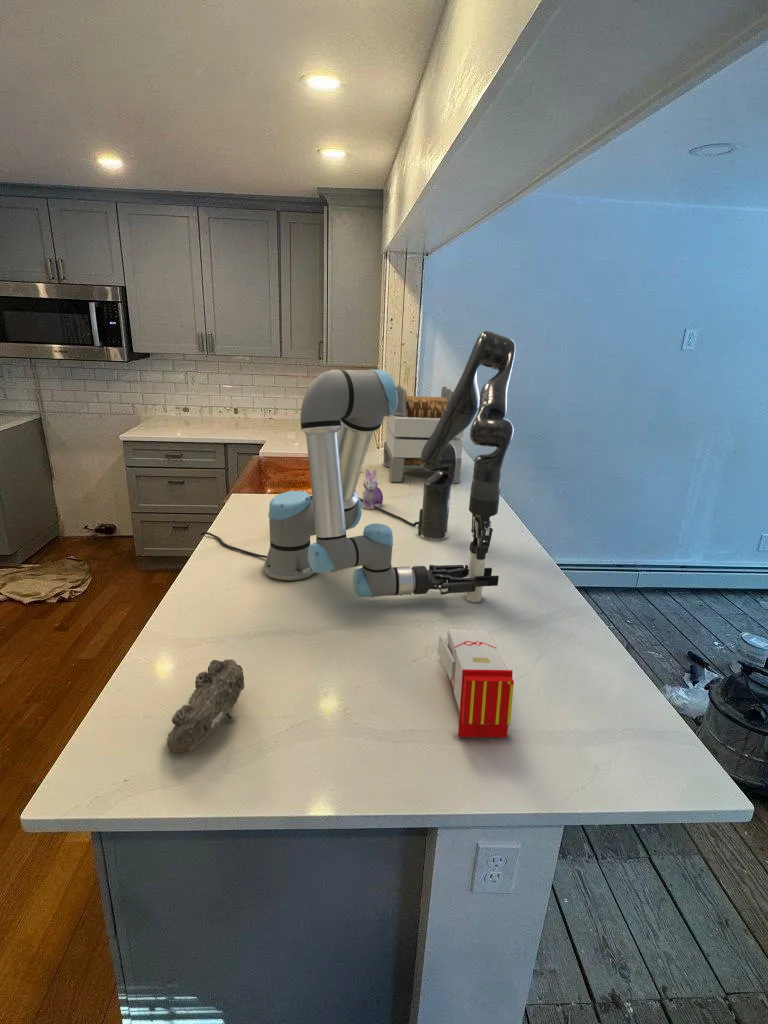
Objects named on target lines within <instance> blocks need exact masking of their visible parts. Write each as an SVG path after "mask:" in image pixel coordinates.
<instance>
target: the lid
mask: <svg viewBox="0 0 768 1024" xmlns="http://www.w3.org/2000/svg"><path fill="white" fill-rule="evenodd" d="M477 544H478V541H473V540H472V541H471V542H470V544H469V548H468V549H469V552H470V553H471V552H472V553H474V554H477ZM488 553H489V548H487V547H486V555H487V554H488Z"/></svg>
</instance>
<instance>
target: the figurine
mask: <svg viewBox="0 0 768 1024" xmlns="http://www.w3.org/2000/svg"><path fill="white" fill-rule="evenodd" d="M377 472H378V470H377V468H374V469H373V470H372V472H371V473H370V470H369V469H365V480H364V482H363V488H364V491H363V493H362V499H363V502H362V503H361V505H362V508H363V509H366V510H373V509H376V508H375V506H377V507H379V508H382V506H383V501H384V496H383V495H384V494H383V492H382V490H381V489H380V488H379V487H378V485H379V484H378V481H377V479H376V476H377V474H378V473H377Z"/></svg>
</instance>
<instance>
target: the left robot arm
mask: <svg viewBox="0 0 768 1024" xmlns="http://www.w3.org/2000/svg"><path fill="white" fill-rule="evenodd" d="M396 388H397V386H396V382H395V380H394V378H393V377H392V375H391V374H390V373H389V372H388V371H386V370H384V369H374V368H370V369H341V370H340V369H330V370H327V371H324V372H322V373H321V374H319V375H318V376H317V377H315V379H313V381H312V382H311V384H310V385H309V386H308V388H307V390H306V392H305V395H304V397H303V400H302V403H301V406H300V407H301V408H300V416H299V417H300V420H299V421H300V430H301V431H302V433H304V434H305V437H306V448H307V457H308V458H307V459H308V467H309V468H308V469H309V477H310V488H311V495H310V494H309V492H307V491H304V490H289V491H284V492H281V493H278V494H277V495H275V496H273V498H271V500H270V502H269V509H268V519H269V521H268V522H269V548H268V552H267V554H259V553H255V552H252V551H248V550H245V549H242V548H240V547H236V546H232V545H229V544H227V543H225V542H224V541H223V539H222V538H220V537H219V536H217V535H215V534H213V533H211V532H208V531H204V532H201V533H200V534H199V535H200V536H204V535H209V536H211V537H213V538H215V539H217V541H219V543H220V544H222V546H224V547H226V548H229V549H231V550H234V551H238V552H241V553H244V554H247V555H250V556H253V557H257V558H264V559H265V561H264V565H263V566H264V569H263V570H264V574H265V575H266V576H267V577H269V578H270V579H273V580H276V581H282V582H295V581H300V580H305V579H309V578H310V577H311V576H312V577H313V575H315V573H316V574H322V573H323V574H324V573H329V572H330V573H333V572H337V571H342V570H345V569H346V570H347V569H350V568H356V569H354V572H353V589H354V593H355V595H356V596H357V597H359V598H374V597H375V598H376V597H389V596H399V597H402V596H409V595H412V594H413V595H427V594H428V592H429V591H430V590H435V591H436V590H437V591H438V590H439V591H440V595H441V596H444V595H449V594H461V593H466V592H475V591H476V587H481V586H483V587H497V586H499V578H500V576H499V575H492V574H493V568H492V567H485V570H484V576H476V577H475V578H468V573H469V565H468V564H465V565H464V564H446V565H445V564H444V565H437V564H436V565H435V564H429V565H428V568H427V567H426V566H425V565H416V566H415V565H414V566H412V567H411V566H409V565H408V566H395V567H394V566H392V556H393V546H394V536H393V535H394V534H393V529H392V527H390V526H388V525H387V524H383V523H370V524H368V525H366V526H365V527H364V528H363V532H362V534H361V535H356V536H351V537H347V531H348V530H351V529H354V528H355V527H356V526H358V524H359V523H360V521H361V518H362V512H363V511H362V508H363V505H362V501H361V500H360V498H361V497H360V496H359V494H358V492H357V489H356V488H357V485H358V482H359V480H360V476H361V472H362V470H363V466H364V463H365V460H366V456H367V453H368V450H369V446H370V443H371V440H372V437H373V433H374V432H376V431H378V430H379V429H380V428H381V427H382V425H383V421H384V418H386V417H389V416H391V415H393V414H394V413H395V411H396V409H397V404H398V395H397V389H396ZM312 536H315V538H316V539H315V541H316V542H313V543H311V537H312ZM357 567H359V568H357Z"/></svg>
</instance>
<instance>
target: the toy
mask: <svg viewBox="0 0 768 1024" xmlns="http://www.w3.org/2000/svg"><path fill="white" fill-rule="evenodd" d="M446 640H447V643H446V641H445V639H444V636H443V635H442V634H439V637H438V646H437V656H438V657H439V659H440V661H441V663H442V666H443V668H444V670H445V672H446V674H447V677H448V679H449V681H450V684H451V687H452V690H453V693H454V697H455V701H456V705H457V708H458V711H459V714H458V715H459V716H458V730H457V731H458V732H457V737H458V738H508V731H509V726H510V725H511V717H512V707H513V697H514V696H513V695H514V684H515V680H514V679H513V673H514V671H513V670H512V669H508V667H507V665H506V662H505V661H504V659H503V658H502V655H501V653H500V651H499V649H498V647H497V643H496V639H495V637H494V635H493V634H491V632H490V631H489V629H467V628H466V629H465V628H463V629H461V628H460V629H459V628H448V630H447V639H446Z"/></svg>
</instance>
